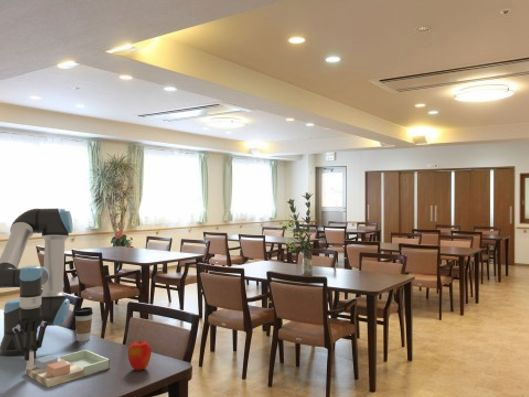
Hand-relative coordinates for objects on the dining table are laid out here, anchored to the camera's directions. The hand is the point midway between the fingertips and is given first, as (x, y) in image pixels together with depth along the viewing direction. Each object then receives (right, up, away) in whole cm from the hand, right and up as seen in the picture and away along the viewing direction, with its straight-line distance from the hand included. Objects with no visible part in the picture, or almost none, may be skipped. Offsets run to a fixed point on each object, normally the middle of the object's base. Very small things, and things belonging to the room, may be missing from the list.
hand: (30, 368), depth 176 cm
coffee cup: (+2, -4, +47) cm, 48 cm away
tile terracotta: (+12, -1, -2) cm, 12 cm away
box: (+16, -4, +12) cm, 21 cm away
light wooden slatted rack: (+8, -4, +2) cm, 9 cm away
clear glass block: (+4, -1, +5) cm, 6 cm away
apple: (+40, -4, +9) cm, 41 cm away
